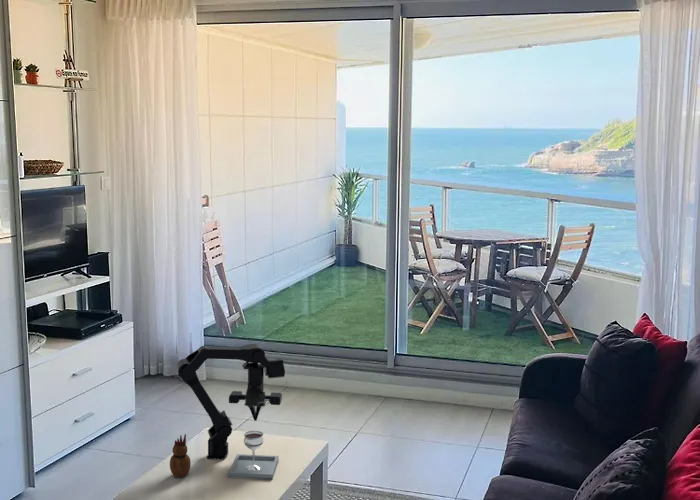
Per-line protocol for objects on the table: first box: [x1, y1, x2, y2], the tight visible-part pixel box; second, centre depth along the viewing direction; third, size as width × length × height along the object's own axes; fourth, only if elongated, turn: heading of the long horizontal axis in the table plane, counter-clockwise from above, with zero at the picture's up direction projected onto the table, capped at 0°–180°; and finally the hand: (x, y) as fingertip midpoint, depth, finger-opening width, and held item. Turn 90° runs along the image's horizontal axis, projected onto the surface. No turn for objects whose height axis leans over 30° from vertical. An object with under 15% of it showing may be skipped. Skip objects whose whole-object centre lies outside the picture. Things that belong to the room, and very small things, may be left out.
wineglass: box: [243, 430, 264, 470], centre depth 265 cm, size 7×7×12 cm
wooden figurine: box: [169, 433, 191, 479], centre depth 259 cm, size 7×6×15 cm
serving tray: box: [227, 453, 280, 480], centre depth 266 cm, size 15×15×2 cm
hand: (255, 420), depth 279 cm, fingers closed
